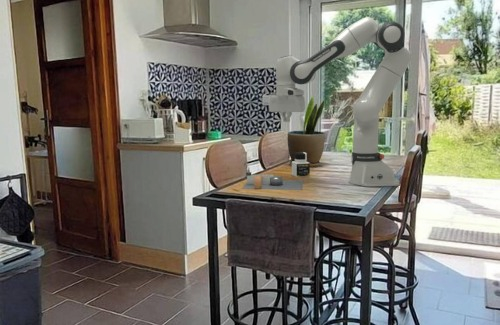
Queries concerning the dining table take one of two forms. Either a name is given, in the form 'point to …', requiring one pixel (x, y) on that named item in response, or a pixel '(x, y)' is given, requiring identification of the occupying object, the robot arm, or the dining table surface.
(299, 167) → the medicine bottle
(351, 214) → the dining table surface
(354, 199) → the dining table surface
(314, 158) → the potted plant
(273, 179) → the crank
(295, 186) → the base plate
